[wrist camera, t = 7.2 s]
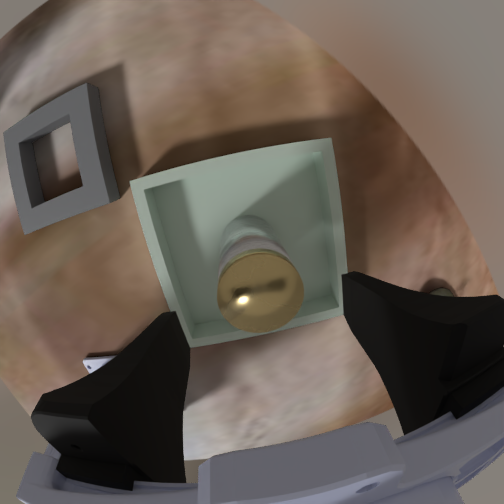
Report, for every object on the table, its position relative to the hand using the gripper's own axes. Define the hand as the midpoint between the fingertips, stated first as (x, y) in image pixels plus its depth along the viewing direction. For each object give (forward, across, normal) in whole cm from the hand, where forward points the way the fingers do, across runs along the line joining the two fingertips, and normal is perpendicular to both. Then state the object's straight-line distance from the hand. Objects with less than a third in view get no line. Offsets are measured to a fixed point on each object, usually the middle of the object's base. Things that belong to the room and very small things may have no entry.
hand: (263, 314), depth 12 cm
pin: (+9, 0, 0) cm, 9 cm away
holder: (+10, +13, -10) cm, 19 cm away
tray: (+10, 0, 0) cm, 10 cm away
